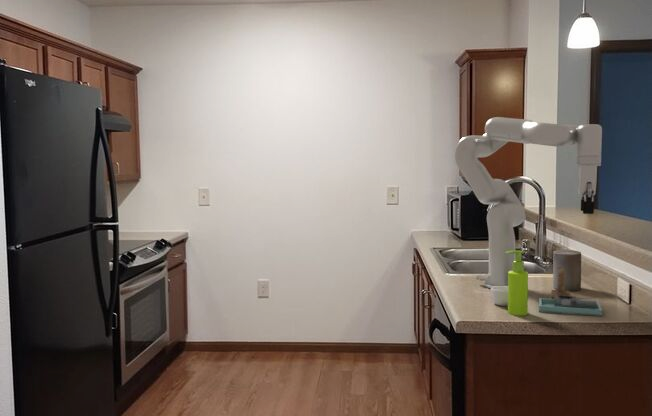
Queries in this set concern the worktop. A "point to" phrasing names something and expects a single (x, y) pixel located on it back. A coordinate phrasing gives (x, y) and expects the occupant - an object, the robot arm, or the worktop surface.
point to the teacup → (500, 295)
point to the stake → (560, 285)
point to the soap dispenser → (517, 286)
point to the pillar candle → (567, 269)
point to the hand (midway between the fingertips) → (586, 212)
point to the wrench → (573, 302)
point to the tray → (567, 308)
